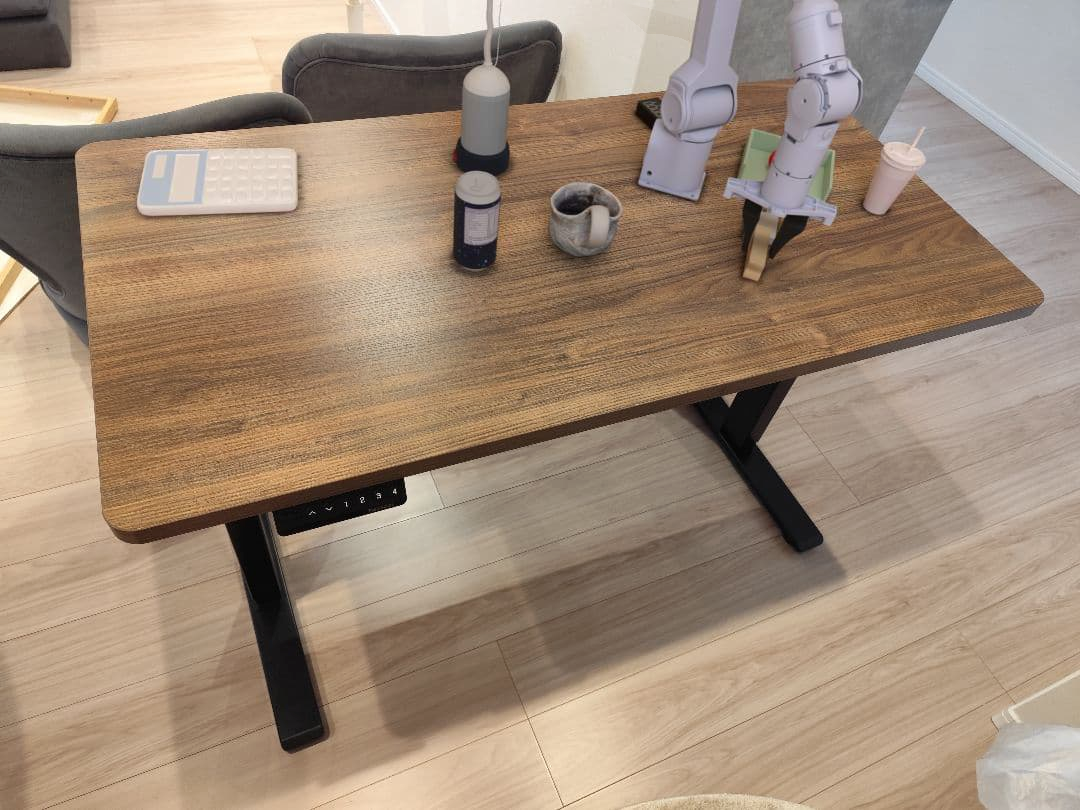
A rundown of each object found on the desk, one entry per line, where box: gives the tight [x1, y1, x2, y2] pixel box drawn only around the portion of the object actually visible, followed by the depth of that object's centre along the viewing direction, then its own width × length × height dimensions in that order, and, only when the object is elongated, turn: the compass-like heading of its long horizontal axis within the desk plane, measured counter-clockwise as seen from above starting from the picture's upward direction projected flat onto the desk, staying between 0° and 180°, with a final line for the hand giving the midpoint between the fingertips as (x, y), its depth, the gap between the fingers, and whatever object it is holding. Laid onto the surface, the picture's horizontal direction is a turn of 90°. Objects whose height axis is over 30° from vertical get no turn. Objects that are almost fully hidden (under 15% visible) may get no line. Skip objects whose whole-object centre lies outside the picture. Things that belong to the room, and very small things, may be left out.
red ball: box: [768, 150, 776, 167], centre depth 118 cm, size 4×4×4 cm
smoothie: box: [862, 125, 927, 216], centre depth 111 cm, size 6×6×14 cm
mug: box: [547, 181, 624, 257], centre depth 97 cm, size 10×12×10 cm
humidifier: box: [452, 0, 511, 177], centre depth 102 cm, size 8×8×25 cm
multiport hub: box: [634, 96, 662, 131], centre depth 123 cm, size 4×11×2 cm, turn 29°
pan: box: [736, 128, 836, 203], centre depth 121 cm, size 20×14×3 cm
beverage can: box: [452, 171, 502, 272], centre depth 93 cm, size 6×6×12 cm
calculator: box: [136, 147, 299, 217], centre depth 100 cm, size 13×20×2 cm, turn 102°
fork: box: [742, 207, 780, 282], centre depth 106 cm, size 17×4×3 cm, turn 162°
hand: (757, 250), depth 103 cm, fingers open, 3 cm apart
